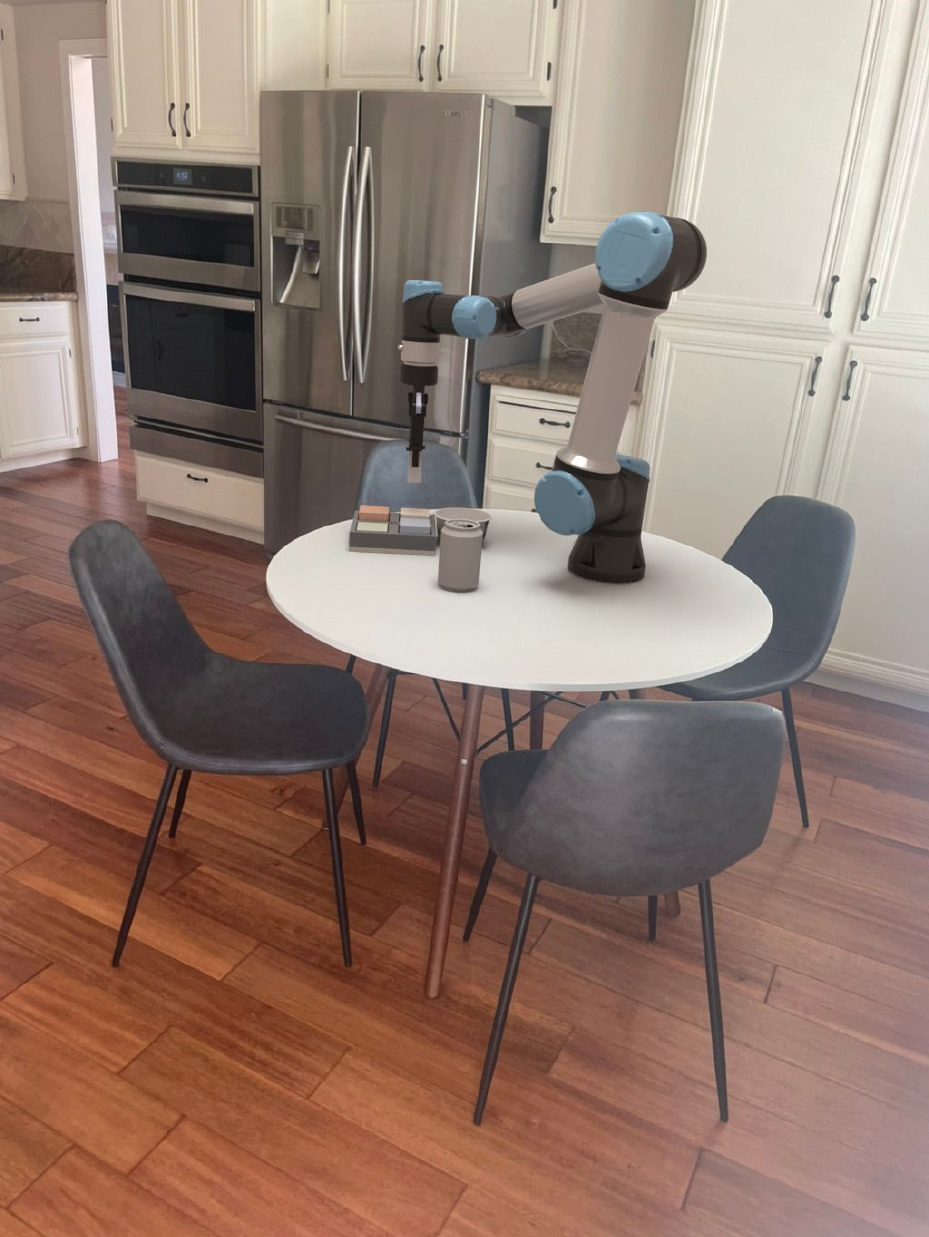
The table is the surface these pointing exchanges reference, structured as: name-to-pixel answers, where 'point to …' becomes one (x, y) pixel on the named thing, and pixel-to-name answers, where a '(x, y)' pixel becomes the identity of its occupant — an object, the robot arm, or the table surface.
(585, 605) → the table surface
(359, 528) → the key
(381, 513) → the key
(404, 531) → the key
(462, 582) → the can
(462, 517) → the food container
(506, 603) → the table surface
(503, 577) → the table surface
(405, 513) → the key
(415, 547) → the keypad
